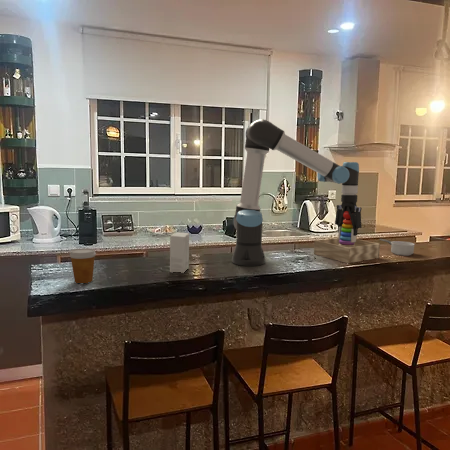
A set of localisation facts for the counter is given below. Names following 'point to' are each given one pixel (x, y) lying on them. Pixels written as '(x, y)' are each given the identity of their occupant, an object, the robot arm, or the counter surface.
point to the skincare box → (179, 252)
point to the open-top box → (346, 250)
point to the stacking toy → (346, 232)
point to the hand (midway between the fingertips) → (346, 240)
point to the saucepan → (401, 247)
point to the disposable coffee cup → (83, 264)
